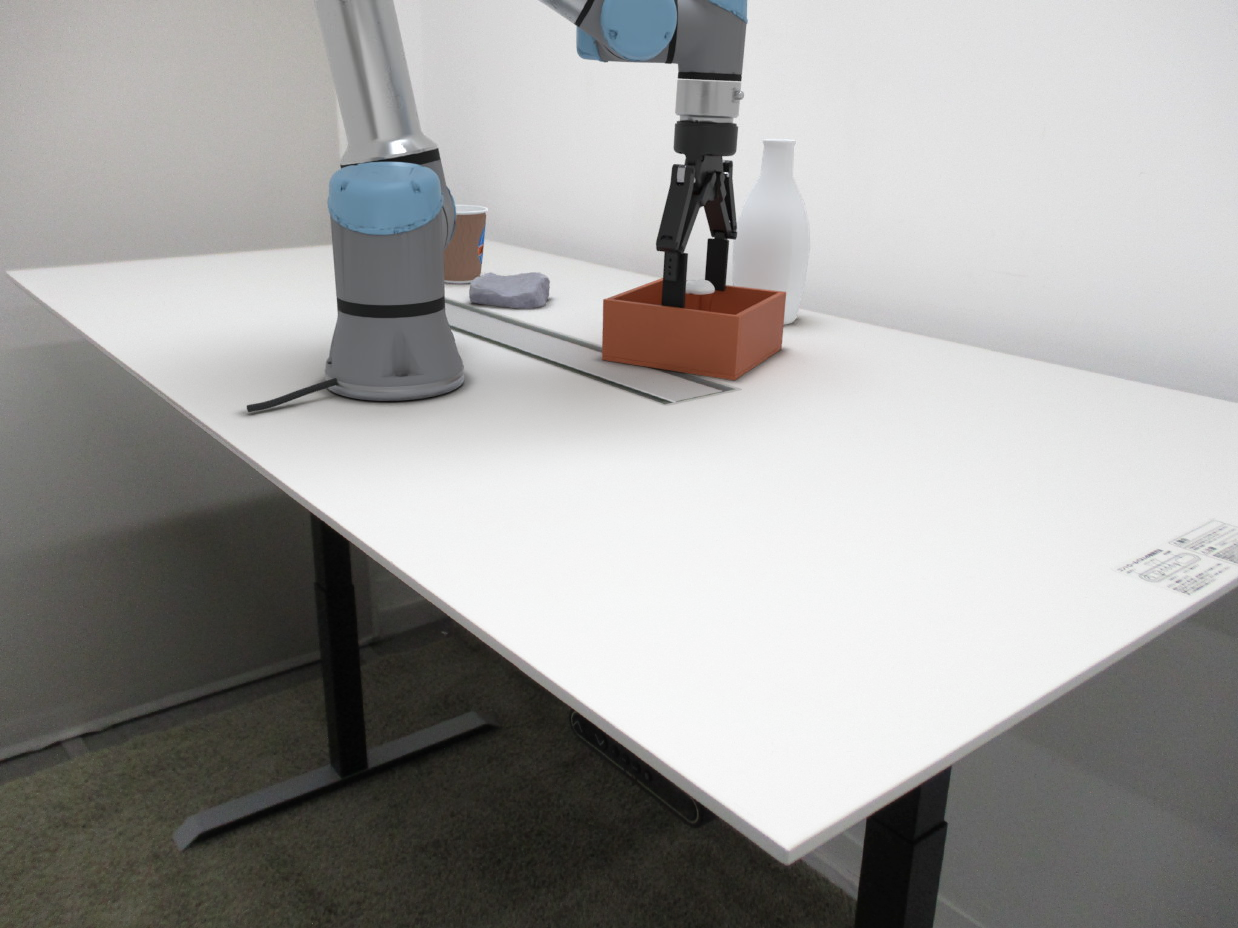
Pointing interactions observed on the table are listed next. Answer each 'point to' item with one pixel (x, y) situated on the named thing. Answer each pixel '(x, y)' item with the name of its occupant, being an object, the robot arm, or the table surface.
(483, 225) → the coffee cup
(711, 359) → the bin
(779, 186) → the bottle
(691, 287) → the milkshake
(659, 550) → the table surface
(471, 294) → the stone block
